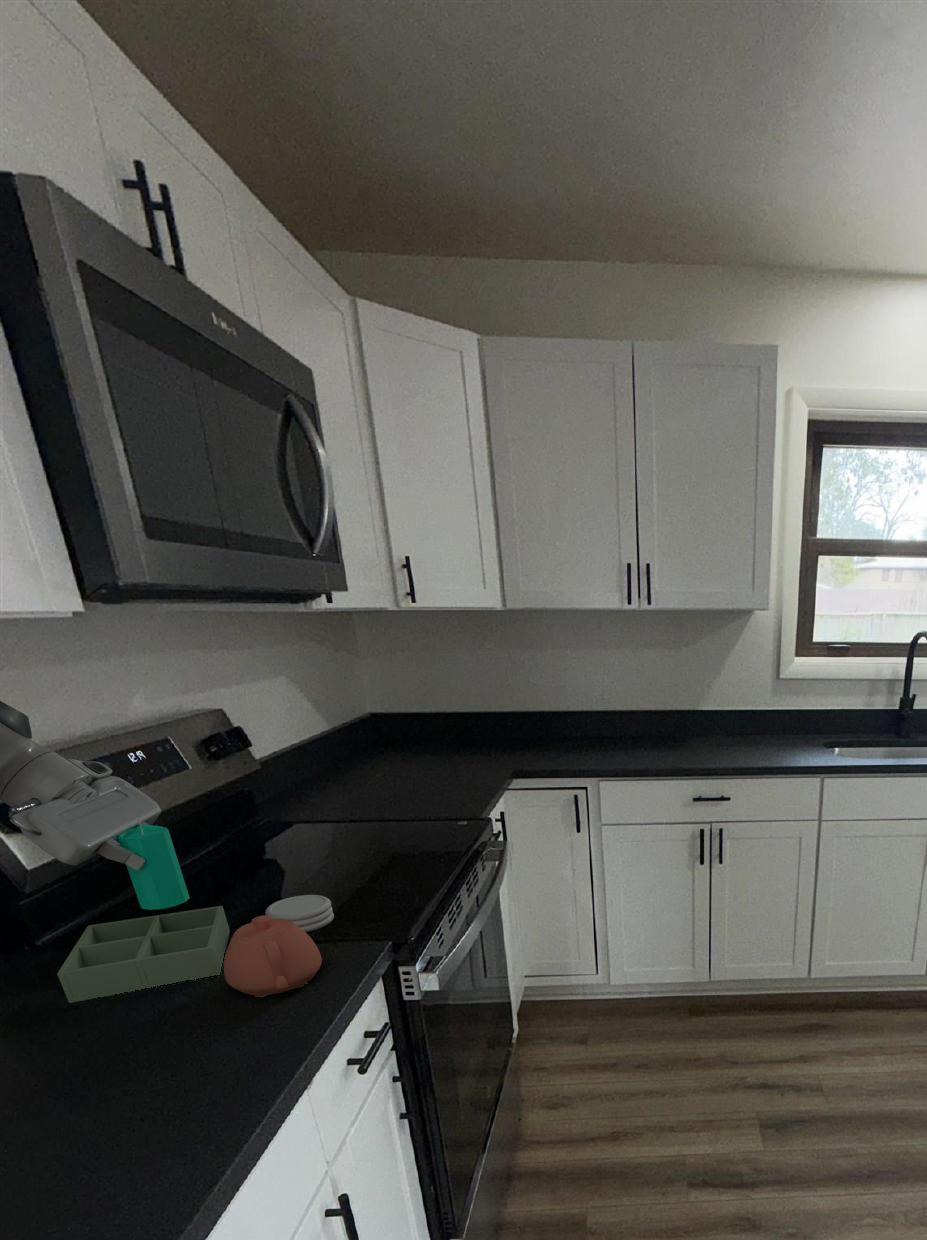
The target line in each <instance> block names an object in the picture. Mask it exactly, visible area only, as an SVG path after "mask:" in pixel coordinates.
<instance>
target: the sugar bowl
mask: <svg viewBox="0 0 927 1240" xmlns="http://www.w3.org/2000/svg"><path fill="white" fill-rule="evenodd" d="M322 961H323V959H322V955H321V952H320V949H319V948H318V946H317V944H316V943H315V941H314V940H313V939H312V937H310V935H309V934H308V932H306V933H305V932H304V931H303V930H302V929H301V928H300V927H299V926H297V925H296V924H295V923H293V922H292V921H290V920H287V919H282V918H272V917H271V916H266V914H265V915H259V916H256V917H254V918H252V919H251V922H249V923H246V924H244V925H242V926H240V927H239V928H237V929H236V930H235V932H234V933H233V935H232V936H231V939H230V941H229V943H228V945H227V947H226V952H225V957H224V961H223V975H224V979H225V982H226V984H228V985H229V986H230V987H231V988H233V989H235V990H237V991H239V992H241V993H243V994H246V995H250V996H254V998H257V997H261V998H265V997H267V996H270V995H276V994H280V993H284V992H288V991H292V990H294V989H300V987H301V988H303V987H302V986H304V984H307V985H308V982H310V981H311V980H312V979H313V978H314V977H315V975H316V974H317V972H318V971H319V969H320V968H321V965H322ZM304 987H305V986H304Z"/></svg>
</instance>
